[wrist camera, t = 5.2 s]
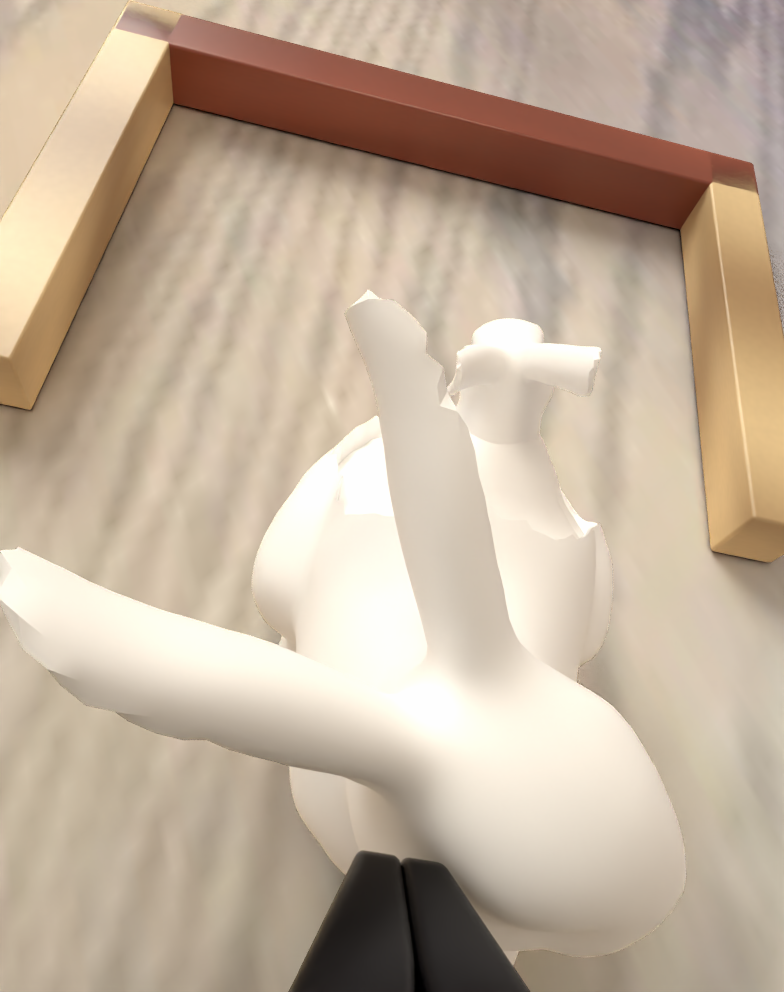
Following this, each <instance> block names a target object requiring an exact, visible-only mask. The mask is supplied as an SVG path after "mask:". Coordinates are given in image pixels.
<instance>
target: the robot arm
mask: <svg viewBox="0 0 784 992" xmlns="http://www.w3.org/2000/svg"><path fill="white" fill-rule="evenodd" d="M289 992H530V990H529V989H528V987H527V986H526V984H525V983H524V981H523V980H522V979H521V977H520V976H519V974H518V973H517V971H516V970H515V968H514V967H513V965H512V964H511V962H510V961H509V959H508V958H507V956H506V955H505V953H504V952H503V950H502V949H501V947H500V946H499V944H498V943H497V941H496V940H495V938H494V937H493V936H492V934H491V933H490V931H489V930H488V928H487V927H486V925H485V924H484V922H483V921H482V919H481V918H480V916H479V915H478V913H477V912H476V910H475V909H474V907H473V906H472V904H471V903H470V901H469V900H468V898H467V897H466V895H465V894H464V893H463V891H462V890H461V888H460V887H459V885H458V884H457V882H456V881H455V879H454V878H453V876H452V875H451V873H450V872H449V870H448V869H447V868H446V867H445V866H444V865H443V864H441V863H439V862H434V861H428V860H422V859H416V858H410V857H408V858H405V859H403V860H402V861H401V862H400V860H399V859H398V858H397V857H396V856H395V855H391V854H385V853H378V852H372V851H366V850H361V851H359V852H358V853H357V854H356V855H355V857H354V859H353V861H352V863H351V865H350V867H349V869H348V871H347V873H346V876H345V878H344V880H343V882H342V884H341V886H340V888H339V890H338V892H337V894H336V896H335V898H334V900H333V902H332V904H331V906H330V908H329V910H328V912H327V914H326V916H325V918H324V920H323V923H322V925H321V927H320V929H319V931H318V933H317V935H316V937H315V939H314V941H313V943H312V945H311V947H310V949H309V951H308V953H307V955H306V957H305V959H304V961H303V963H302V965H301V967H300V970H299V972H298V974H297V976H296V978H295V980H294V982H293V984H292V986H291V988H290V990H289Z"/></svg>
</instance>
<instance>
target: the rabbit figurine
mask: <svg viewBox="0 0 784 992" xmlns="http://www.w3.org/2000/svg"><path fill="white" fill-rule="evenodd" d="M344 314H345V317H346V320H347V323H348V325H349V328H350V331H351V333H352V336H353V338H354V340H355V342H356V345H357V347H358V350H359V352H360V354H361V357H362V359H363V361H364V364H365V366H366V369H367V372H368V375H369V378H370V381H371V384H372V388H373V391H374V395H375V399H376V404H377V409H378V414H379V418H378V417H377V416H376V415H375V416H374V417H373V418H372V419H370V420H369V421H368V422H366V423H364V424H361V425H359V426H357V427H356V428H354V429H353V430H352V431H351V432H350V433H349V434H348V435H347V436H346V437H345V438H344V439H343V440H342V441H340V442H339V443H338V444H337V445H336V446H335V447H334V448H333V449H331V450H330V451H329V452H328V453H326V454H325V455H324V456H323V457H321V458H320V459H319V460H318V461H317V462H316V463H315V464H314V465H313V466H312V467H311V468H310V469H309V470H308V471H307V472H306V473H305V474H304V475H303V477H302V478H301V480H300V481H299V483H298V485H297V486H296V488H295V489H294V491H293V492H292V494H291V495H290V496H289V498H288V499H287V500H286V502H285V503H284V504H283V506H282V507H281V508H280V510H279V511H278V513H277V514H276V515H275V517H274V519H273V521H272V523H271V524H270V526H269V528H268V530H267V532H266V534H265V536H264V538H263V540H262V542H261V544H260V547H259V550H258V552H257V555H256V559H255V563H254V568H253V573H252V593H253V597H254V600H255V603H256V605H257V608H258V610H259V613H260V614H261V616H262V618H263V619H264V621H265V622H266V623H267V624H268V625H269V626H270V627H271V628H272V629H274V630H275V631H277V632H278V633H279V634H281V635H282V636H281V640H280V642H279V644H278V645H276V644H274V643H271V642H269V641H265V640H262V639H259V638H256V637H253V636H250V635H246V634H243V633H239V632H235V631H231V630H227V629H224V628H221V627H218V626H214V625H211V624H208V623H205V622H202V621H198V620H195V619H192V618H189V617H185V616H181V615H178V614H174V613H170V612H167V611H163V610H160V609H158V608H155V607H152V606H150V605H147V604H144V603H142V602H139V601H136V600H134V599H131V598H128V597H126V596H123V595H120V594H118V593H115V592H113V591H110V590H108V589H106V588H103V587H101V586H99V585H96V584H94V583H92V582H90V581H88V580H86V579H84V578H82V577H80V576H78V575H76V574H74V573H72V572H70V571H68V570H66V569H64V568H62V567H60V566H58V565H55V564H53V563H51V562H49V561H47V560H45V559H43V558H41V557H38V556H36V555H34V554H32V553H30V552H28V551H26V550H24V549H22V548H20V547H17V548H15V549H14V550H0V605H1V607H2V609H3V611H4V613H5V615H6V618H7V620H8V622H9V624H10V626H11V628H12V630H13V632H14V634H15V636H16V638H17V640H18V642H19V644H20V646H21V648H22V649H23V650H24V651H25V652H27V653H28V654H29V655H30V656H32V657H33V658H34V659H35V660H37V661H38V662H39V663H40V664H42V665H43V666H44V667H45V668H46V669H47V670H48V671H49V672H50V673H51V674H52V676H53V677H54V678H55V679H56V680H57V682H58V683H59V684H60V685H61V686H62V687H63V688H65V689H66V690H67V691H68V692H70V693H71V694H72V695H73V696H75V697H76V698H77V699H79V700H80V701H81V702H82V703H84V704H85V705H86V706H91V707H95V708H100V709H105V710H109V711H114V712H116V713H117V714H118V715H120V716H121V717H123V718H124V719H126V720H127V721H129V722H131V723H133V724H136V725H138V726H140V727H143V728H145V729H147V730H150V731H152V732H154V733H157V734H161V735H165V736H169V737H173V738H177V739H181V740H208V741H210V742H212V743H215V744H217V745H219V746H222V747H224V748H226V749H229V750H232V751H235V752H239V753H242V754H246V755H249V756H253V757H257V758H262V759H266V760H270V761H274V762H278V763H281V764H283V765H286V766H289V773H290V786H291V791H292V796H293V801H294V804H295V807H296V810H297V812H298V813H299V815H300V817H301V818H302V820H303V822H304V823H305V825H306V826H307V828H308V829H309V831H310V832H311V833H312V835H313V836H314V837H315V838H316V839H317V841H318V842H319V843H320V845H321V846H322V848H323V849H324V851H325V852H326V854H327V855H328V857H329V858H330V859H331V861H332V862H333V863H334V864H335V865H336V866H337V867H338V869H339V870H340V871H341V872H343V873H344V874H345V875H346V873H347V871H348V869H349V867H350V865H351V863H352V861H353V859H354V857H355V855H356V854H357V853H358V852H359V851H361V850H366V851H372V852H378V853H385V854H391V855H395V856H396V857H397V858H398V859H399V860H400V862H401V861H402V860H403V859H405V858H408V857H410V858H416V859H422V860H428V861H434V862H439V863H441V864H443V865H444V866H445V867H446V868H447V869H448V870H449V872H450V873H451V875H452V876H453V878H454V879H455V881H456V882H457V884H458V885H459V887H460V888H461V890H462V891H463V893H464V894H465V895H466V897H467V898H468V900H469V901H470V903H471V904H472V906H473V907H474V909H475V910H476V912H477V913H478V915H479V916H480V918H481V919H482V921H483V922H484V924H485V925H486V927H487V928H488V930H489V931H490V933H491V934H492V936H493V937H494V938H495V940H496V941H497V943H498V944H499V946H500V947H501V949H502V950H503V952H504V953H505V955H506V956H507V958H508V959H509V961H510V962H511V964H512V965H513V966H514V963H515V960H516V958H517V955H518V952H519V951H526V950H544V949H545V950H549V951H552V952H556V953H559V954H563V955H567V956H573V957H594V956H603V955H608V954H611V953H614V952H617V951H620V950H623V949H625V948H626V947H628V946H630V945H632V944H634V943H636V942H637V941H639V940H641V939H643V938H644V937H646V936H647V935H648V934H650V933H651V932H652V931H653V930H654V929H656V928H657V927H658V926H659V925H661V924H662V923H663V921H664V920H665V919H666V918H667V917H668V915H669V914H670V913H671V912H672V911H673V909H674V908H675V906H676V904H677V903H678V901H679V899H680V898H681V896H682V894H683V893H684V888H685V881H686V856H685V849H684V842H683V837H682V833H681V830H680V826H679V823H678V819H677V817H676V814H675V811H674V809H673V806H672V804H671V801H670V799H669V796H668V794H667V792H666V789H665V787H664V785H663V782H662V780H661V778H660V775H659V773H658V771H657V769H656V768H655V766H654V764H653V762H652V760H651V759H650V757H649V755H648V753H647V752H646V750H645V748H644V746H643V745H642V743H641V742H640V740H639V738H638V737H637V735H636V734H635V732H634V730H633V729H632V727H631V726H630V725H629V724H628V723H627V721H626V720H625V719H624V718H623V717H622V716H621V715H620V713H619V712H618V711H617V710H616V709H615V708H614V707H613V706H612V705H611V704H609V703H608V702H607V701H605V700H604V699H603V698H601V697H600V696H598V695H597V694H595V693H593V692H592V691H590V690H588V689H587V688H585V687H583V686H582V685H580V684H578V683H577V673H578V667H579V666H581V665H583V664H585V663H586V662H588V661H589V660H591V659H592V658H593V657H594V656H595V655H596V654H597V652H598V651H599V650H600V649H601V647H602V645H603V643H604V641H605V638H606V635H607V633H608V628H609V623H610V616H611V610H612V600H613V564H612V560H611V556H610V552H609V549H608V546H607V543H606V539H605V536H604V533H603V530H602V528H601V525H600V522H599V523H598V524H597V523H594V522H587V521H584V520H583V519H582V518H581V517H580V516H579V515H578V514H577V513H576V512H575V511H574V509H573V508H572V506H571V504H570V502H569V501H568V499H567V498H566V496H565V495H564V493H563V491H562V490H561V489H560V485H559V480H558V476H557V473H556V470H555V468H554V465H553V463H552V461H551V459H550V456H549V453H548V450H547V447H546V445H545V442H544V440H543V438H542V437H541V435H540V434H539V433H540V428H541V420H542V414H543V412H544V410H545V409H546V407H547V405H548V403H549V401H550V399H551V397H552V395H553V390H554V387H556V388H559V389H562V390H566V391H569V392H571V393H573V394H576V395H578V396H581V397H586V396H589V395H590V394H591V392H592V390H593V386H594V380H595V376H596V372H597V368H598V364H599V360H600V357H601V352H602V351H601V349H600V348H599V347H583V346H573V345H565V344H550V343H544V333H543V331H542V329H541V328H540V327H539V326H538V325H536V324H533V323H530V322H527V321H524V320H519V319H498V320H494V321H491V322H488V323H486V324H484V325H483V326H481V327H479V328H478V329H477V330H476V331H475V332H474V333H473V335H472V343H471V345H467V346H465V347H464V348H463V349H462V350H459V351H458V352H457V363H456V372H455V376H454V379H453V380H452V382H451V384H450V385H449V386H448V387H447V386H446V379H445V373H444V367H443V366H442V365H441V364H439V363H438V362H437V361H435V360H434V359H433V358H432V357H430V356H429V355H428V354H427V333H426V331H425V330H424V329H423V328H422V326H421V325H420V324H419V323H418V321H417V320H416V319H415V318H414V316H413V315H411V314H410V313H409V312H408V311H407V310H405V309H404V308H403V307H402V306H400V305H399V304H398V303H397V302H395V301H394V300H391V299H380V298H378V297H377V296H376V295H375V294H374V293H372V292H371V291H370V290H369V289H368V290H367V291H366V293H365V294H364V295H363V296H362V297H361V298H360V299H359V300H357V301H356V302H355V303H354V304H352V305H351V306H350V307H349V308H348V309H347V310H346V311H345V313H344ZM458 391H460V397H459V402H458V404H457V405H455V406H454V403H453V401H452V399H451V397H450V396H454V395H455V394H456V393H457V392H458Z"/></svg>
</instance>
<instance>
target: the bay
mask: <svg viewBox="0 0 784 992" xmlns="http://www.w3.org/2000/svg"><path fill="white" fill-rule="evenodd" d="M173 103H175V104H179V105H183V106H187V107H191V108H195V109H199V110H203V111H207V112H211V113H215V114H219V115H223V116H227V117H231V118H235V119H239V120H243V121H247V122H251V123H255V124H259V125H263V126H267V127H271V128H275V129H279V130H283V131H287V132H291V133H295V134H299V135H303V136H307V137H311V138H315V139H319V140H323V141H327V142H331V143H335V144H339V145H343V146H347V147H351V148H355V149H359V150H363V151H367V152H371V153H375V154H379V155H383V156H387V157H391V158H395V159H399V160H403V161H407V162H411V163H415V164H419V165H423V166H427V167H431V168H435V169H439V170H443V171H447V172H451V173H455V174H459V175H463V176H467V177H471V178H475V179H479V180H483V181H487V182H491V183H495V184H499V185H503V186H507V187H511V188H515V189H519V190H523V191H527V192H531V193H535V194H539V195H543V196H547V197H551V198H555V199H559V200H563V201H567V202H571V203H575V204H579V205H583V206H587V207H591V208H595V209H599V210H603V211H607V212H612V213H616V214H620V215H624V216H628V217H632V218H636V219H640V220H644V221H648V222H652V223H656V224H660V225H664V226H668V227H672V228H676V229H680V230H681V241H682V252H683V262H684V273H685V283H686V294H687V304H688V315H689V325H690V336H691V346H692V357H693V367H694V378H695V388H696V399H697V409H698V420H699V430H700V441H701V451H702V462H703V472H704V483H705V493H706V504H707V515H708V525H709V536H710V546H711V550H712V551H715V552H720V553H725V554H729V555H734V556H739V557H744V558H749V559H753V560H758V561H763V562H773V561H774V560H776V559H777V558H779V557H781V556H782V555H784V334H783V329H782V323H781V317H780V312H779V306H778V301H777V295H776V289H775V284H774V278H773V273H772V267H771V261H770V256H769V250H768V245H767V239H766V233H765V228H764V222H763V217H762V211H761V205H760V200H759V194H758V188H757V183H756V177H755V172H754V166H753V164H752V163H750V162H746V161H742V160H738V159H734V158H731V157H727V156H723V155H719V154H715V153H711V152H708V151H704V150H700V149H696V148H692V147H688V146H685V145H681V144H677V143H673V142H669V141H665V140H662V139H658V138H654V137H650V136H646V135H642V134H639V133H635V132H631V131H627V130H623V129H619V128H616V127H612V126H608V125H604V124H600V123H596V122H593V121H589V120H585V119H581V118H577V117H573V116H570V115H566V114H562V113H558V112H554V111H550V110H547V109H543V108H539V107H535V106H531V105H527V104H524V103H520V102H516V101H512V100H508V99H504V98H501V97H497V96H493V95H489V94H485V93H481V92H478V91H474V90H470V89H466V88H462V87H458V86H455V85H451V84H447V83H443V82H439V81H435V80H432V79H428V78H424V77H420V76H416V75H412V74H409V73H405V72H401V71H397V70H393V69H389V68H386V67H382V66H378V65H374V64H370V63H366V62H363V61H359V60H355V59H351V58H347V57H343V56H340V55H336V54H332V53H328V52H324V51H320V50H317V49H313V48H309V47H305V46H301V45H297V44H294V43H290V42H286V41H282V40H278V39H274V38H271V37H267V36H263V35H259V34H255V33H251V32H248V31H244V30H240V29H236V28H232V27H229V26H225V25H221V24H217V23H213V22H209V21H206V20H202V19H198V18H194V17H190V16H186V15H183V14H181V13H177V12H173V11H169V10H165V9H161V8H158V7H154V6H150V5H146V4H142V3H138V2H135V1H131V0H129V1H128V2H127V4H126V6H125V7H124V9H123V11H122V13H121V14H120V16H119V18H118V19H117V21H116V23H115V25H114V26H113V28H112V30H111V31H110V33H109V35H108V37H107V38H106V40H105V42H104V43H103V45H102V47H101V49H100V50H99V52H98V54H97V55H96V57H95V59H94V61H93V62H92V64H91V66H90V67H89V69H88V71H87V73H86V74H85V76H84V78H83V80H82V81H81V83H80V85H79V86H78V88H77V90H76V92H75V93H74V95H73V97H72V98H71V100H70V102H69V104H68V105H67V107H66V109H65V110H64V112H63V114H62V116H61V117H60V119H59V121H58V122H57V124H56V126H55V128H54V129H53V131H52V133H51V134H50V136H49V138H48V140H47V141H46V143H45V145H44V146H43V148H42V150H41V152H40V153H39V155H38V157H37V158H36V160H35V162H34V164H33V165H32V167H31V169H30V171H29V172H28V174H27V176H26V177H25V179H24V181H23V183H22V184H21V186H20V188H19V189H18V191H17V193H16V195H15V196H14V198H13V200H12V201H11V203H10V205H9V207H8V208H7V210H6V212H5V213H4V215H3V217H2V219H1V220H0V404H4V405H9V406H14V407H19V408H24V409H31V408H32V406H33V404H34V402H35V400H36V398H37V396H38V393H39V391H40V389H41V387H42V385H43V383H44V381H45V378H46V376H47V374H48V372H49V370H50V368H51V365H52V363H53V361H54V359H55V357H56V355H57V353H58V350H59V348H60V346H61V344H62V342H63V340H64V337H65V335H66V333H67V331H68V329H69V327H70V325H71V322H72V320H73V318H74V316H75V314H76V312H77V309H78V307H79V305H80V303H81V301H82V299H83V297H84V294H85V292H86V290H87V288H88V286H89V284H90V281H91V279H92V277H93V275H94V273H95V271H96V269H97V266H98V264H99V262H100V260H101V258H102V256H103V253H104V251H105V249H106V247H107V245H108V243H109V241H110V238H111V236H112V234H113V232H114V230H115V228H116V225H117V223H118V221H119V219H120V217H121V215H122V213H123V210H124V208H125V206H126V204H127V202H128V200H129V197H130V195H131V193H132V191H133V189H134V187H135V185H136V182H137V180H138V178H139V176H140V174H141V172H142V169H143V167H144V165H145V163H146V161H147V159H148V157H149V154H150V152H151V150H152V148H153V146H154V144H155V141H156V139H157V137H158V135H159V133H160V131H161V129H162V126H163V124H164V122H165V120H166V118H167V116H168V113H169V111H170V109H171V107H172V105H173Z"/></svg>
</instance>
